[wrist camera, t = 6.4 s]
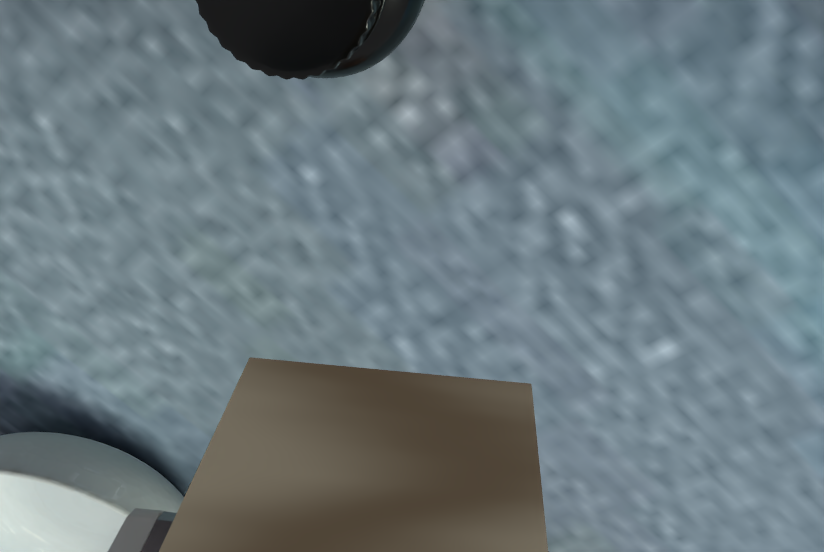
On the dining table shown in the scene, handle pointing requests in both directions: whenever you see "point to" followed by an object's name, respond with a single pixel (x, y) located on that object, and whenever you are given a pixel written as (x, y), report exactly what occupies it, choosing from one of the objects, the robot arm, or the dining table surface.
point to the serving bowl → (72, 492)
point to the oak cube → (366, 465)
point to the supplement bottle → (310, 33)
